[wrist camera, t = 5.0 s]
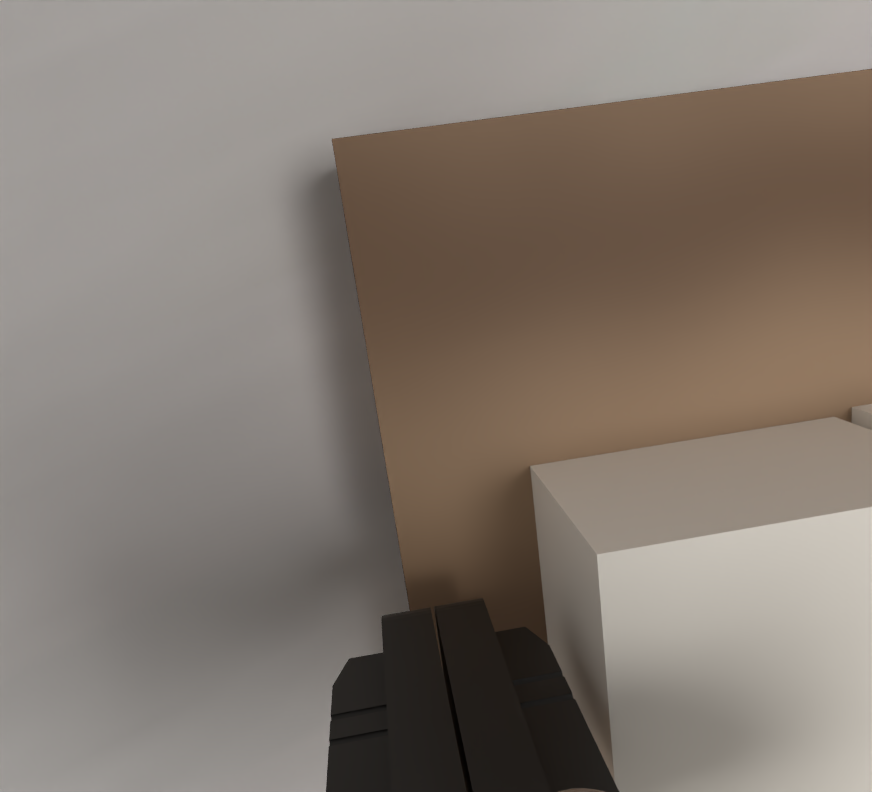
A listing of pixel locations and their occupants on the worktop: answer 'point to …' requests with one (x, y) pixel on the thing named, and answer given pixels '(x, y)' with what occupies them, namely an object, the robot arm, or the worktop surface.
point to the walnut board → (600, 300)
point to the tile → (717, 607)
